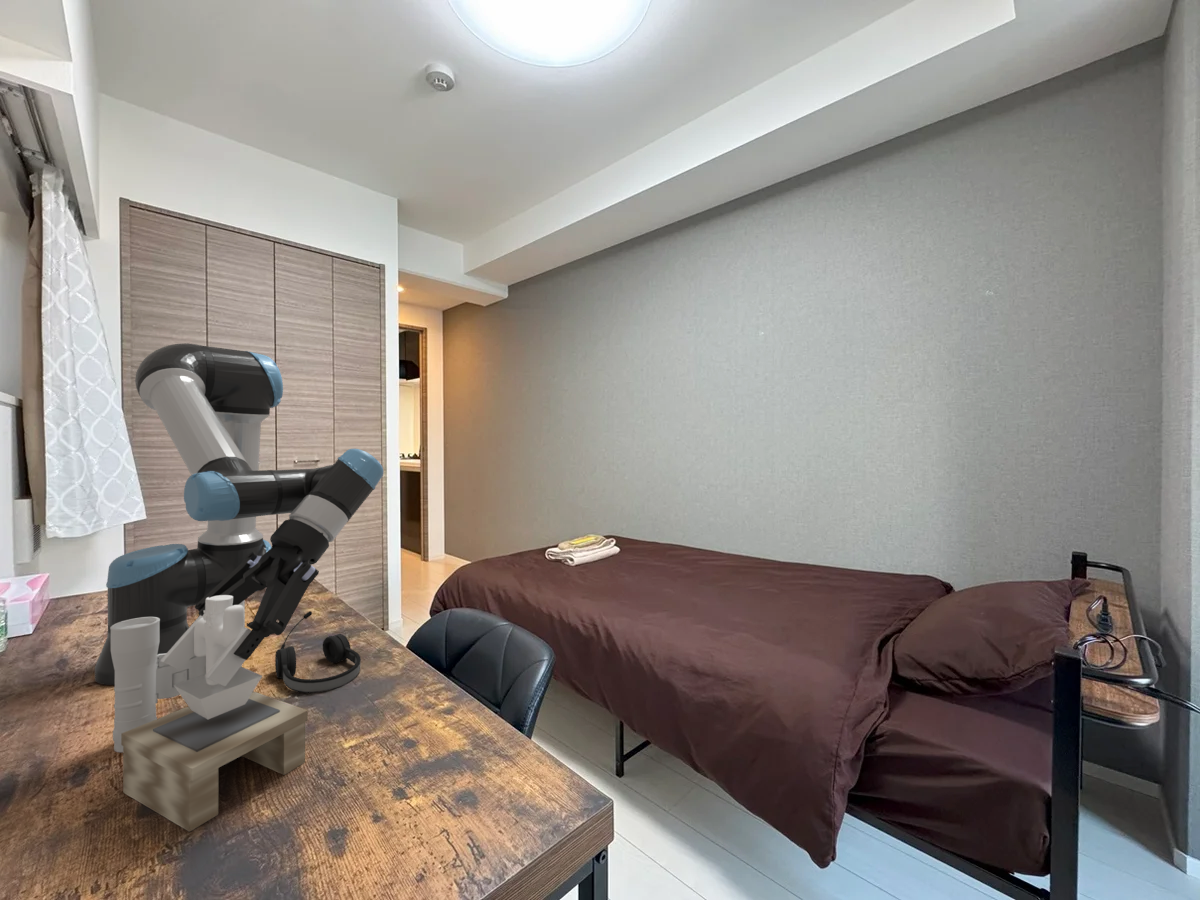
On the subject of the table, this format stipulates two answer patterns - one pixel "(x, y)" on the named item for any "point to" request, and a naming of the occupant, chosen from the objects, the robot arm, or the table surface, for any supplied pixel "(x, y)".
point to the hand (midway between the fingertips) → (191, 673)
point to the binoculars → (143, 673)
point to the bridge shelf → (207, 754)
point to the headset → (334, 652)
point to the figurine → (212, 642)
